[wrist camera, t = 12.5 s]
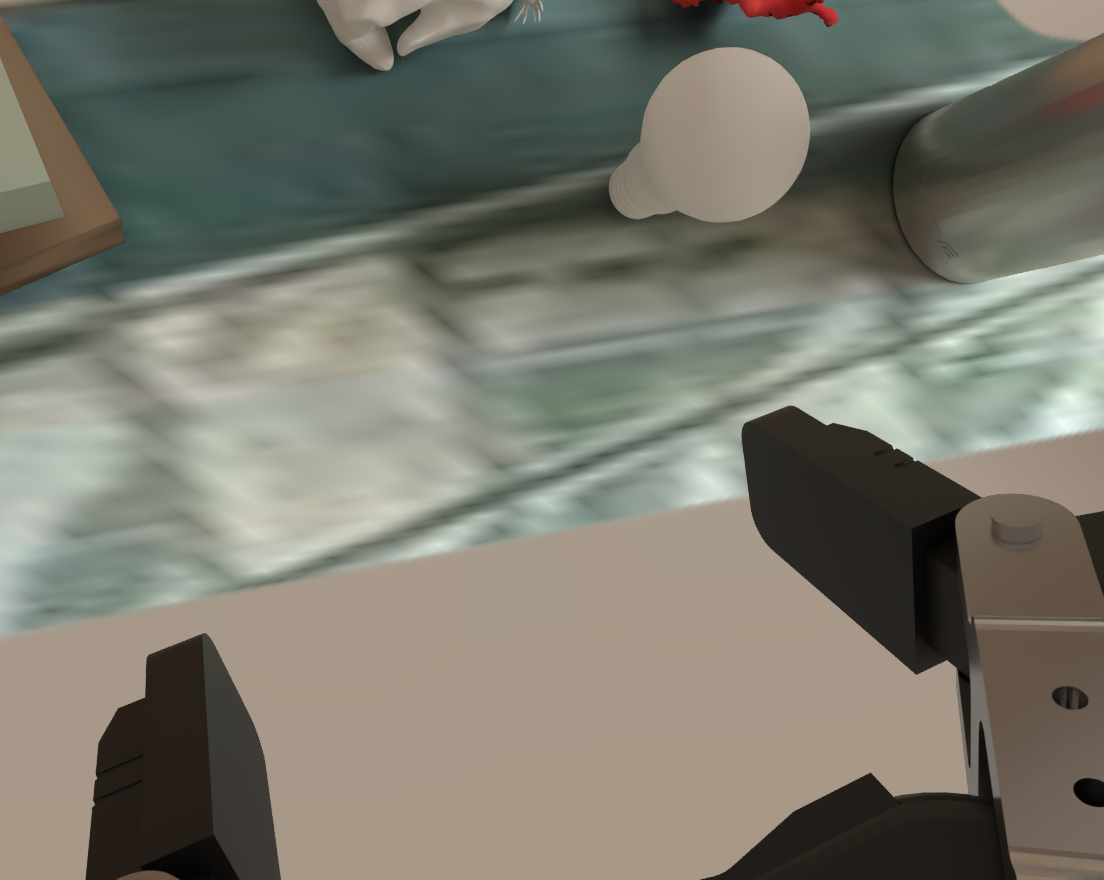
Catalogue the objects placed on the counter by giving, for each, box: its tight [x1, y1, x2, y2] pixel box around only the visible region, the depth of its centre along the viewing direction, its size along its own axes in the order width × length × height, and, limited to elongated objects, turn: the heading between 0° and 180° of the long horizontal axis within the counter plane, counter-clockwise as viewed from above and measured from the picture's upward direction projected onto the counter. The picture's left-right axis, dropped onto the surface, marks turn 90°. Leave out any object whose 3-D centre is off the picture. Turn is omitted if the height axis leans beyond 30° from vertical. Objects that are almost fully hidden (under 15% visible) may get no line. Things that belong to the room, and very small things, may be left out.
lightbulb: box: [609, 47, 810, 223], centre depth 37 cm, size 6×6×11 cm
